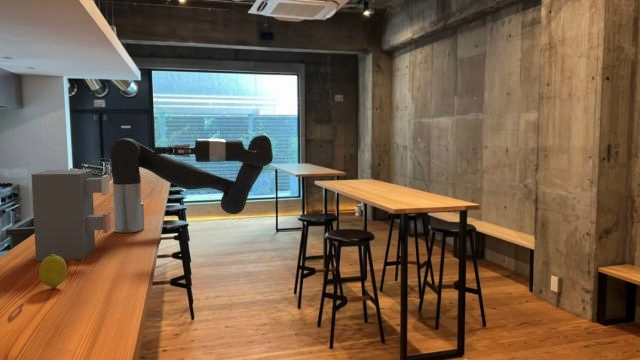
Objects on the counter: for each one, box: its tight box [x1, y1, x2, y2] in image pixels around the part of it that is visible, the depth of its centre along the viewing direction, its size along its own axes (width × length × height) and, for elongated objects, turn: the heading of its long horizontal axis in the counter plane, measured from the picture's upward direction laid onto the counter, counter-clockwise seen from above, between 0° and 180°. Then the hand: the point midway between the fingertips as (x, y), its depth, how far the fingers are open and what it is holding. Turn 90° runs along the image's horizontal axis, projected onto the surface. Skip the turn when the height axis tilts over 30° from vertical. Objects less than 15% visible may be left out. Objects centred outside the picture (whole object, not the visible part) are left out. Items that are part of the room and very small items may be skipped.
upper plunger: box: [85, 174, 110, 197], centre depth 135 cm, size 9×6×6 cm, turn 104°
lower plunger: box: [86, 210, 112, 234], centre depth 136 cm, size 9×6×6 cm, turn 104°
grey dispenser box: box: [31, 169, 96, 262], centre depth 134 cm, size 12×14×24 cm
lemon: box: [38, 254, 68, 289], centre depth 105 cm, size 6×6×8 cm
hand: (154, 150), depth 145 cm, fingers closed
